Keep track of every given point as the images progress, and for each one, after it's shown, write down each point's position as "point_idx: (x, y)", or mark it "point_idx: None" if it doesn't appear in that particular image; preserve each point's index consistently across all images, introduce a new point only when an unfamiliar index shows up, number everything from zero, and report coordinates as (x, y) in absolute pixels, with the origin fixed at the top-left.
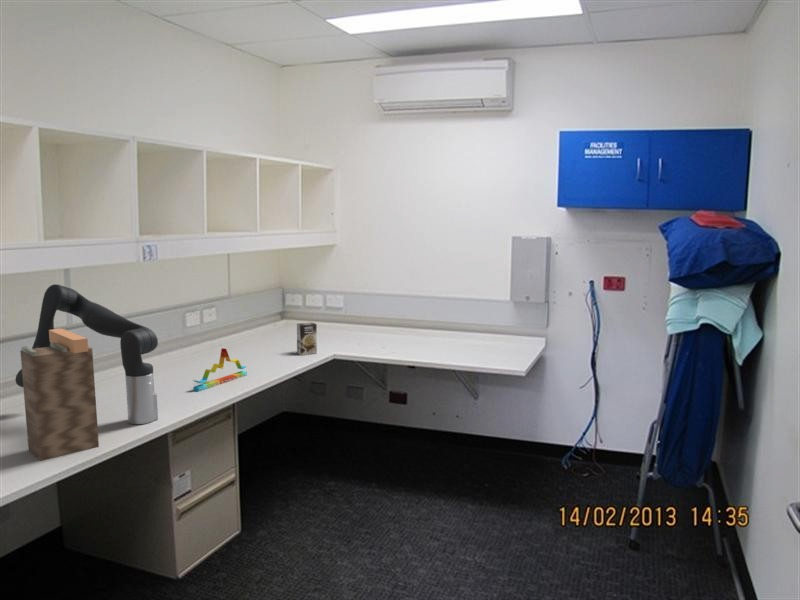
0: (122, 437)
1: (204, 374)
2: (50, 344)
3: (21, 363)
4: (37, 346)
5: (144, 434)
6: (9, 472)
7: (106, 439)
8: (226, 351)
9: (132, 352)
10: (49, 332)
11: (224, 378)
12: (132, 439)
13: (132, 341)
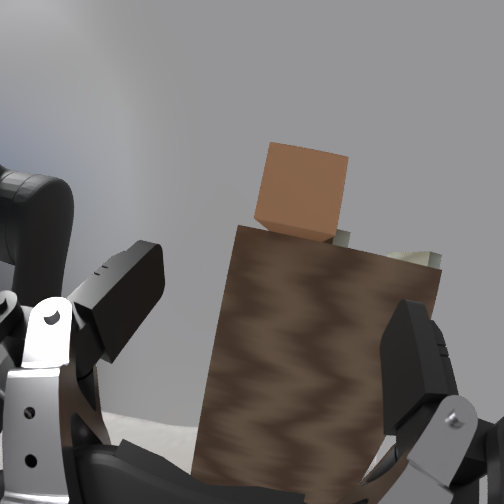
0: (150, 442)
1: None
2: (348, 239)
3: (430, 318)
4: (413, 301)
5: (120, 418)
6: (372, 464)
7: (174, 460)
8: None
9: (65, 253)
10: (344, 174)
11: None
12: (152, 425)
13: (72, 215)
